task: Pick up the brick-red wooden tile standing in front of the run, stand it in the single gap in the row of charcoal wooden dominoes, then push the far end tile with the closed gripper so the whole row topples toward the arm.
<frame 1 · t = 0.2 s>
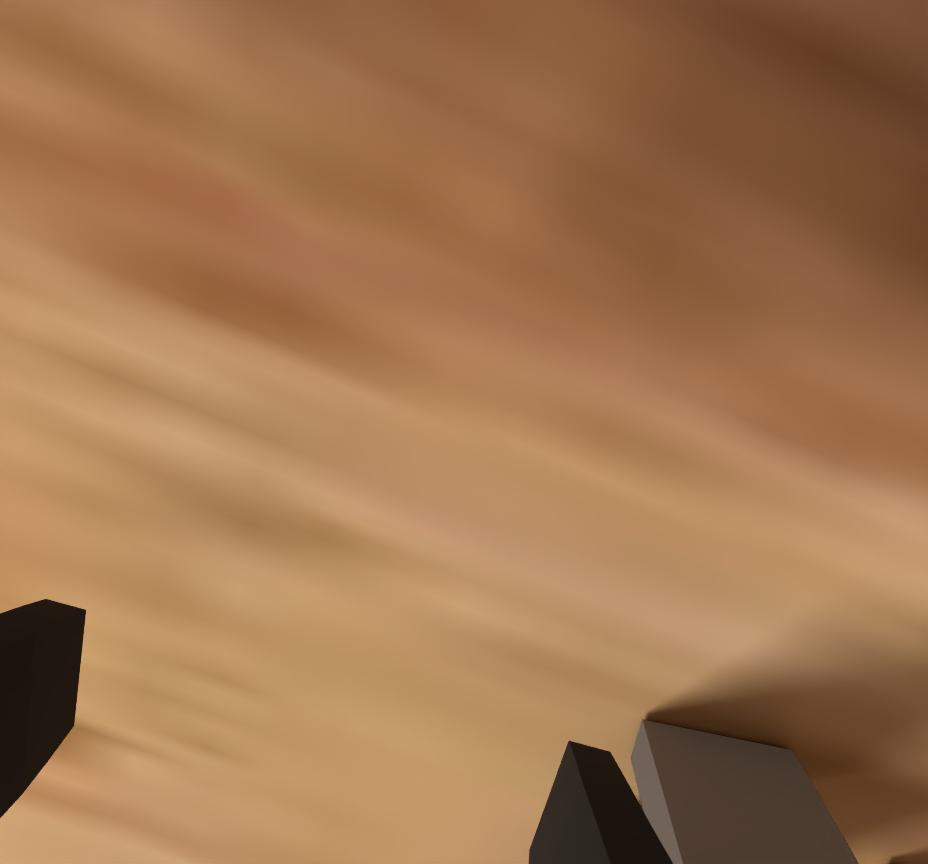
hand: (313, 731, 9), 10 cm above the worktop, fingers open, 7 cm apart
charcoal tile 1: (711, 754, 20), on the worktop
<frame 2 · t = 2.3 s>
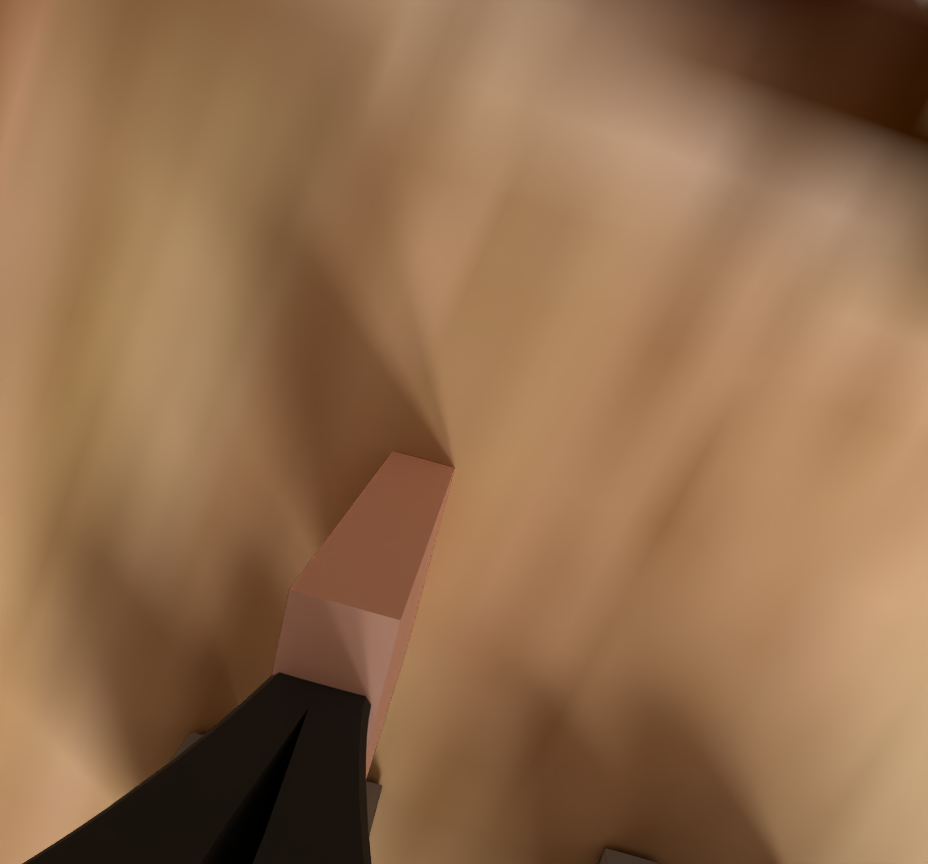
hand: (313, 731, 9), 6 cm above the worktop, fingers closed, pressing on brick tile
charcoal tile 2: (337, 847, 17), on the worktop
brick tile: (402, 546, 16), on the worktop, touching gripper
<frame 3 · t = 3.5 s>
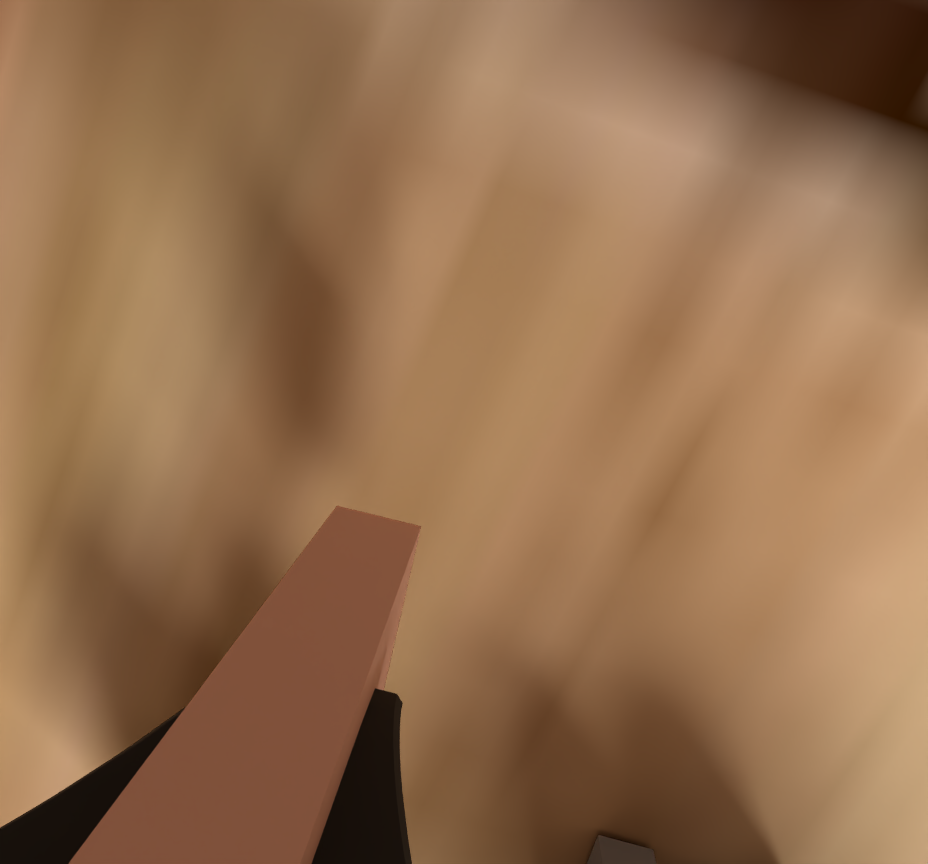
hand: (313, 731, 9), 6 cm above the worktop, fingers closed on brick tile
brick tile: (354, 635, 12), point 4 cm above the worktop, touching gripper
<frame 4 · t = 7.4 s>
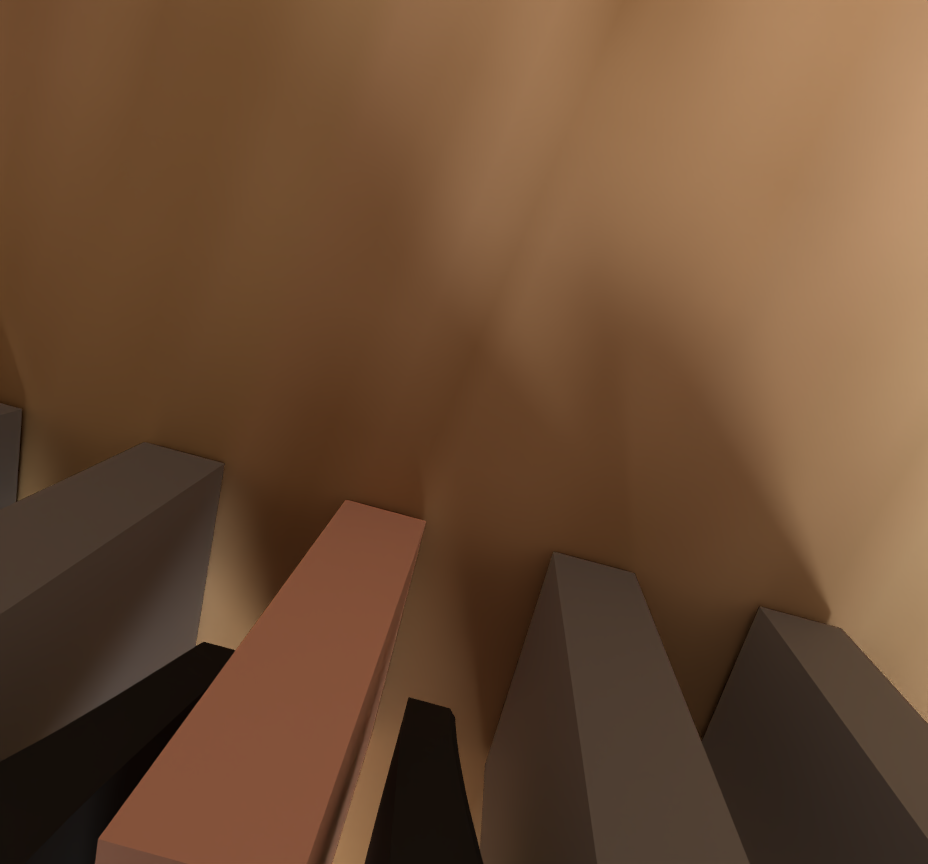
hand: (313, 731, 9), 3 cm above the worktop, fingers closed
charcoal tile 2: (168, 569, 12), on the worktop
charcoal tile 4: (555, 674, 12), on the worktop, touching gripper
charcoal tile 5: (751, 726, 12), on the worktop
brick tile: (358, 624, 12), on the worktop
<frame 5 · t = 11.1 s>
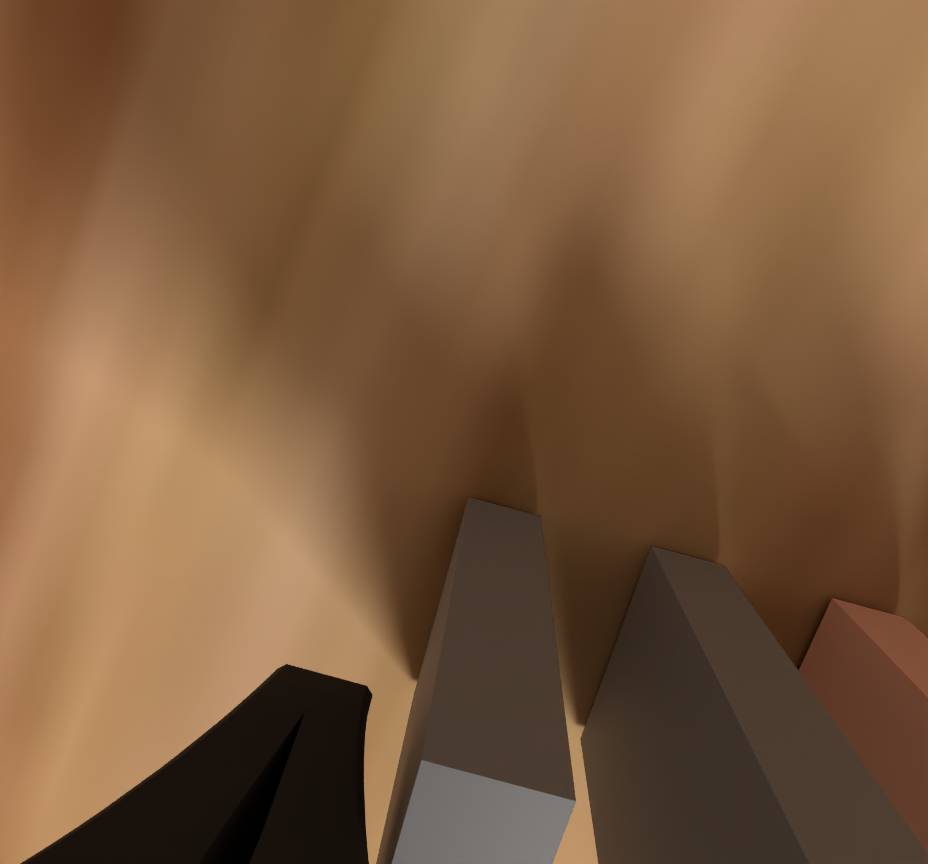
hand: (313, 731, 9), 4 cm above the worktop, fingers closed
charcoal tile 2: (648, 656, 13), on the worktop
charcoal tile 1: (474, 609, 13), on the worktop, touching gripper
brick tile: (821, 705, 13), on the worktop
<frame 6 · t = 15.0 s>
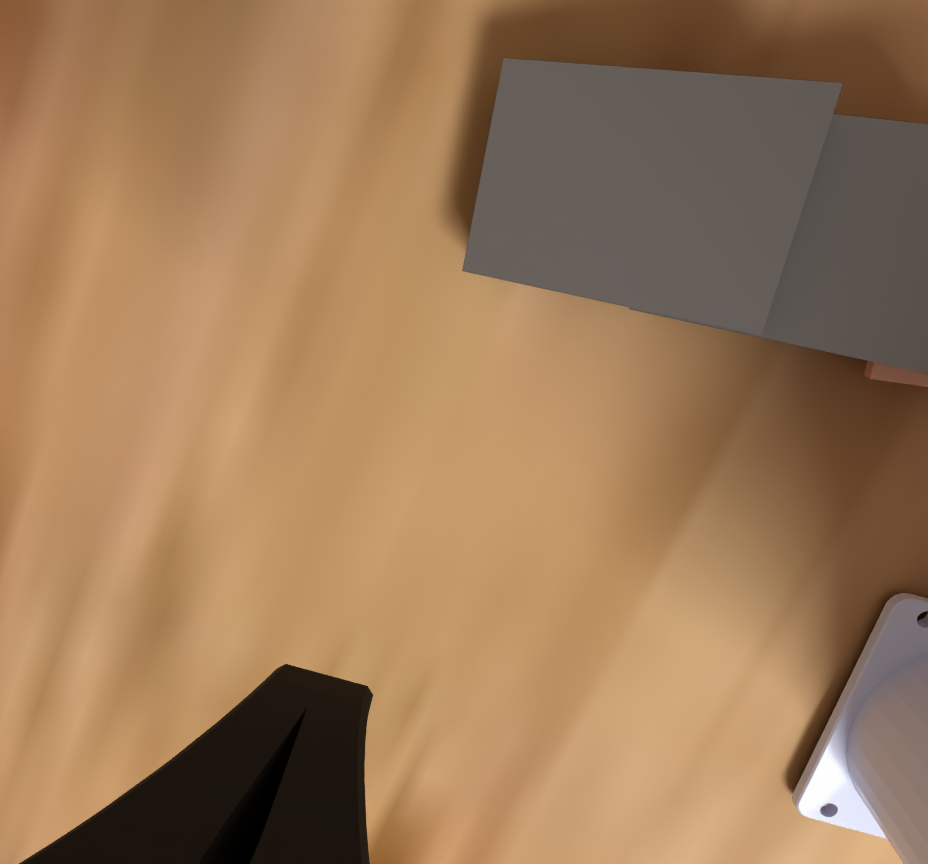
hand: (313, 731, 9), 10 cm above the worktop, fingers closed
charcoal tile 2: (658, 212, 16), point 1 cm above the worktop, tilted 72°
charcoal tile 1: (494, 175, 16), point 1 cm above the worktop, tilted 69°
brick tile: (891, 280, 15), point 1 cm above the worktop, tilted 67°
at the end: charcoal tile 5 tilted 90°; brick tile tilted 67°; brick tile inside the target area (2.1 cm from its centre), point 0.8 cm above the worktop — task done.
